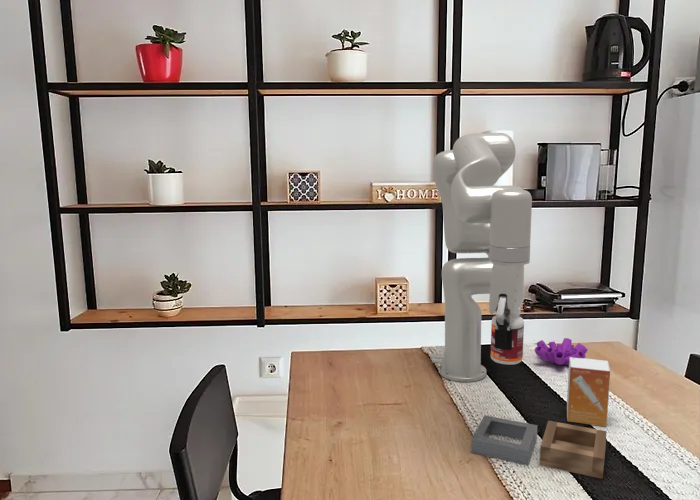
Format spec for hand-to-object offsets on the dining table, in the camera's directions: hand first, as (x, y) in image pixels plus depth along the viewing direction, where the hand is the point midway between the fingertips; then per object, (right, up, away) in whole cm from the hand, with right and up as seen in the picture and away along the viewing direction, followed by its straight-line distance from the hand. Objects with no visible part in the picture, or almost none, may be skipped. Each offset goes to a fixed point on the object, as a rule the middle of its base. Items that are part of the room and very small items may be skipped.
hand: (506, 342), depth 110 cm
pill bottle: (0, -4, +1) cm, 4 cm away
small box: (+22, -20, +14) cm, 32 cm away
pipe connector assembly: (+28, -14, +45) cm, 55 cm away
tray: (+13, -22, -1) cm, 26 cm away
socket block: (+1, -22, +4) cm, 22 cm away
